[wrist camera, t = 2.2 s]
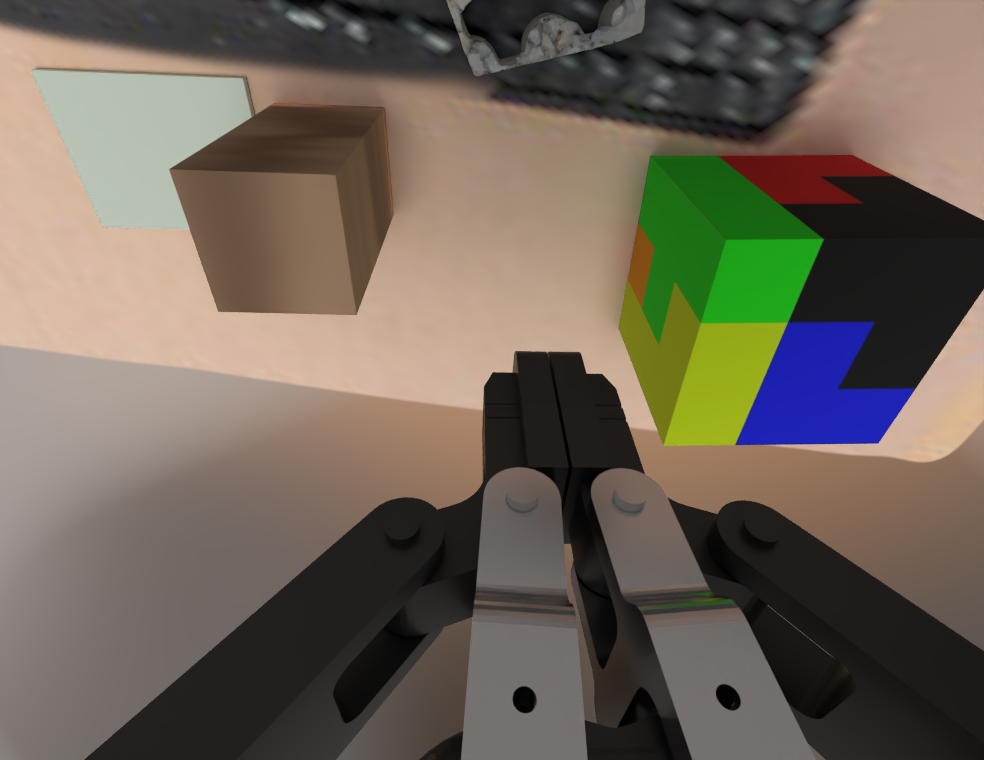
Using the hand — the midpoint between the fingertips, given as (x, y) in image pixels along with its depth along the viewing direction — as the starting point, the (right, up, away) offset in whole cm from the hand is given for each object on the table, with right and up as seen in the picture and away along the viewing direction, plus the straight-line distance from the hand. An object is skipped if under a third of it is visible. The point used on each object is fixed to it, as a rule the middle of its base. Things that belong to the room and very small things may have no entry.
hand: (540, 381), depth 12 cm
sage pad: (-17, +11, +12) cm, 23 cm away
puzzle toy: (+12, +7, +16) cm, 21 cm away
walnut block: (-9, +11, +13) cm, 19 cm away
